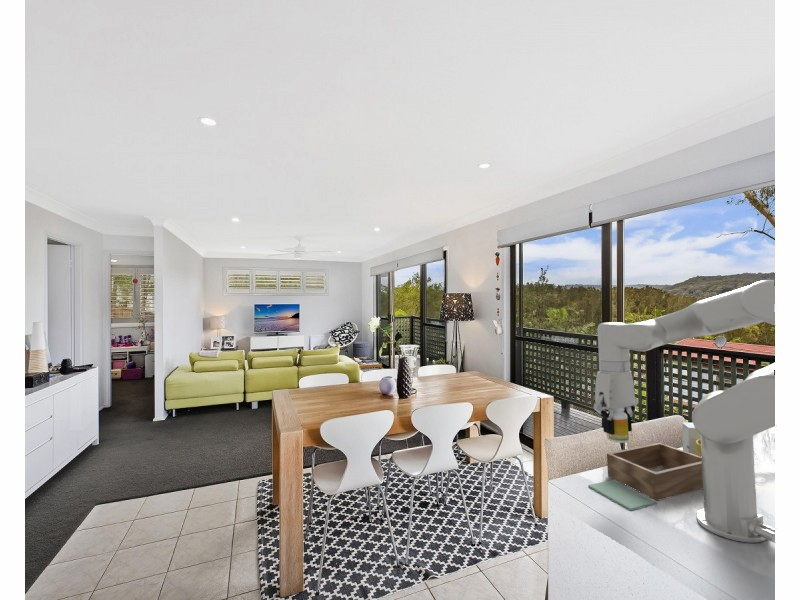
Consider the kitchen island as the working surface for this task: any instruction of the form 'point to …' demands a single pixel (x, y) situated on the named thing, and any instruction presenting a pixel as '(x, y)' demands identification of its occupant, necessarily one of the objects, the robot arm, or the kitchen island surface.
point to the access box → (661, 484)
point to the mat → (622, 494)
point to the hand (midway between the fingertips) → (617, 430)
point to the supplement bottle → (619, 426)
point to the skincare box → (690, 438)
